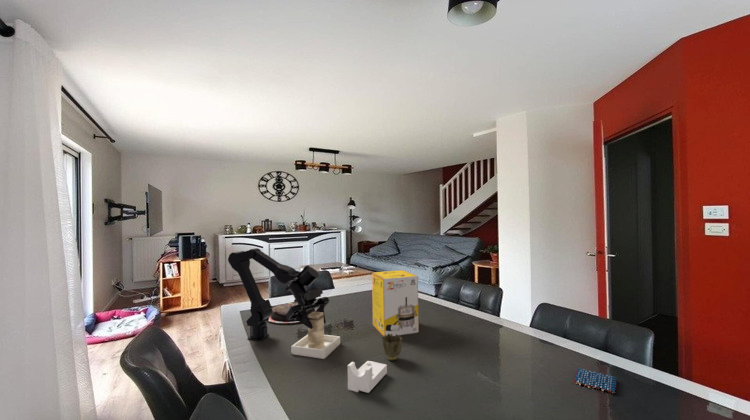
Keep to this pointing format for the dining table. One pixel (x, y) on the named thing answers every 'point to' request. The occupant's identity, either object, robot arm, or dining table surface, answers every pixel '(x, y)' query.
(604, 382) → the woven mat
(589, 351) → the dining table surface
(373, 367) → the bracket
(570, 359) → the dining table surface
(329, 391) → the dining table surface
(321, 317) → the birch block
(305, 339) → the tray
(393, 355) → the cup
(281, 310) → the chocolate cake
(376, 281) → the packaging box
